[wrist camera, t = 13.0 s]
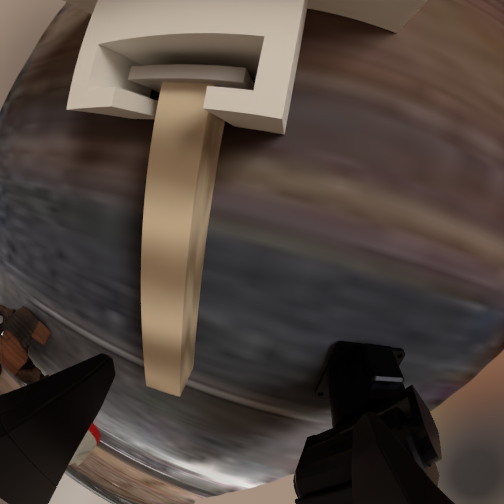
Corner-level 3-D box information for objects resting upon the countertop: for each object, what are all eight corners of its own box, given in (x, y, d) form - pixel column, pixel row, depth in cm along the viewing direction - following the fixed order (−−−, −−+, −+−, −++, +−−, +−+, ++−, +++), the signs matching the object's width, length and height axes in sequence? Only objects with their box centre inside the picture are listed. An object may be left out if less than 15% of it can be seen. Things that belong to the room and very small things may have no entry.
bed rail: (211, 371, 24) (196, 411, 19) (146, 352, 24) (123, 386, 19) (257, 91, 16) (246, 67, 11) (166, 84, 16) (130, 66, 11)
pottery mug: (71, 345, 26) (41, 399, 21) (62, 342, 33) (38, 385, 27) (-1, 279, 21) (-35, 332, 16) (5, 290, 28) (-22, 332, 22)
